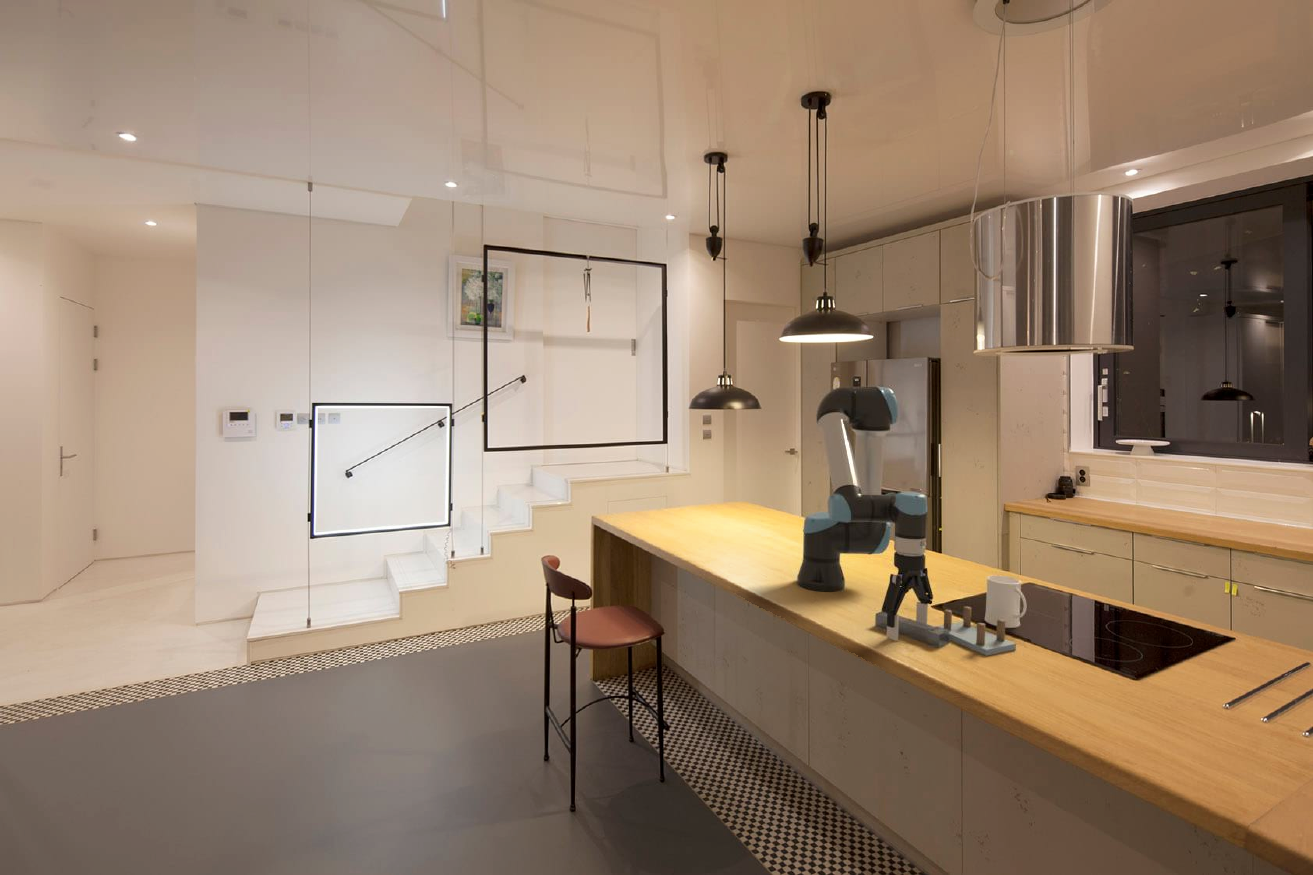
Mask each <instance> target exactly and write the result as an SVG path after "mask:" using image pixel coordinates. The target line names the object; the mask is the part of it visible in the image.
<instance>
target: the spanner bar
mask: <svg viewBox="0 0 1313 875" xmlns="http://www.w3.org/2000/svg"><path fill="white" fill-rule="evenodd" d="M874 619H875V621H874V622H875V623H874V624H875V627H878V628H879V629H882V630H883V629H884V630H886V631H887V613H884V612H882V610H881V611H879V612H877V613H875V618H874ZM898 635H901V636H904V637H907V638H910V639H914V640H917V641H919V642H922V643H925V644H927V645H929V646H931V647H933V648H937V649H940V648H942V647H945V646H947V645H948V644H949V643H950V640H949V630H948V629H945V628H941V627H935V625H930V624H928V623H927V624H924V623H921V622H918V621H916V619H915V620H914V619H911V618H908V617H904V616H901V615H899V624H898Z"/></svg>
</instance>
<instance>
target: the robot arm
mask: <svg viewBox="0 0 1313 875" xmlns="http://www.w3.org/2000/svg"><path fill="white" fill-rule="evenodd" d="M815 416H816V425H817V426H816V427H817V428H818V431H820V432H821V433H822V438H823V443H824V448H825V449H824V450H825V455H826V460H827V464H828V470H829V474H830V480H831V485H832V490H833V494H832V493H831V494H830V495H829V496H828V501H827V511H824V512H815V513H812V514H809V515H807V516H806V517H805V519H804V521H803V529H802V532H803V544H802V546H803V549H802V551H803V552H802V561H801V562H802V563H801V565H800V568H799V571H798V574H797V576H796V583H797V585H798V586H800V587H801V588H805V589H807V590H812V591H817V592H819V591H820V592H837V591H840V590H843V589H844V588H845V587H846V580H845V576H844V573H843V569H842V566H841V554H845V555H846V554H847V555H848V554H850V555H851V554H852V555H854V554H855V555H857V554H861V555H869V556H871V555H879V554H880V555H881V554H882V553H884V552H885V551H886V550H887V549H888V548H889V545H890V541H891V535H892V530H891V523H892V524H893V523H894V543H893V544H894V545H893V548H894V549H893V550H895V551H894V555H893V566H894V567H895V568H896V569H897V574H893V573H890V574H889V582H888V586H887V589H886V593H885V596H884V600H883V603H882V607H881V611H882V612H884V613H887V630H886V638H887V639H889V640H893V641H899V634H898V624H899V616H900V615H899V614H898V612H899V609H900V607H901V605H902V602H903V601H904V598H905V596H906V594H908V593H909V592H910V590H913V592H914V594H915V596H916V598H917V600H918V601H916V607H915V608H916V614H915V615H916V616H915V621H918V622H921V623H924V624H928V613H929V612H928V609H929V608H928V606H929V605H932V604H933V599H934V595H933V591H932V590H933V589H932V587H931V583H930V579H929V575H928V568H927V567H926V555H925V553H926V547H927V542H926V541H927V540H926V539H927V523H928V522H927V520H928V518H927V517H928V510H929V508H928V497H927V496H926V495H925V494H924V493H920V492H914V491H913V492H912V491H901V492H898V493H895V492H889V493H885V494H882V486H883V485H882V484H883V481H882V480H883V467H884V466H883V465H884V452H885V448H884V447H885V436H886V435H887V434H888V433H889V432H890V431H891V425H892V426H893V425H894V424H896V423H897V420H898V418H899V406H898V400H897V397H896V395H895V392H894V391H893V390H892V389H891V388H889V387H883V386H878V385H876V386H840V387H836V388H834V389H832V390H830V391H829V392H828V393H827V394H825V395H824V396H823V399H821V401H820V403H819V405H818V408H817V410H816V415H815ZM849 425H851V426H850V427H851V431H853V432H854V433H855V448H854V449H855V450H854V451H853V446H852V443H851V437H850V434H849V429H848V427H849Z"/></svg>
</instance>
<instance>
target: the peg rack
mask: <svg viewBox="0 0 1313 875" xmlns="http://www.w3.org/2000/svg"><path fill="white" fill-rule="evenodd" d="M952 615H953V611H952V610H950V609H944V612H943V624H941V625H936V626H935V625H934V627H941V628H945V629H948V630H949V641H951V642H953V643H955V644H956V643H957V644H958V645H961V646H962V647H966V648H968V649H970V650H972V651H974V652H976V653H979V654H981V655H983V656H985V657H987V656H991V655H996V654H1002V653H1006V652H1007V653H1008V652H1011V651H1015V650H1017V643H1015V642H1013V641H1011V640H1008V639H1006V638H1005V637H1006V628H1005V620H1002V619H997V626H996V635H995V634H993V633H992V632H988V631H986V623H983V622H977V623H976V626H975V625H972V624H971V623H972V607H971V606H963V613H962V615H963V617H962V621H957V622H953V623H952V621H953V620H952V618H953V616H952Z"/></svg>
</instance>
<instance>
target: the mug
mask: <svg viewBox="0 0 1313 875" xmlns="http://www.w3.org/2000/svg"><path fill="white" fill-rule="evenodd" d="M1021 590H1022V582H1021V580H1020V579H1017V578H1015V577H1011V576H1006V575H1000V574H999V575H998V574H993V575H988V576H987V579H986V596H985V597H986V598H985V599H986V601H985V615H984V621H985V622H986V623H988V624H990V625H992V626H995V627H997V619H1002V620H1005V629H1006V628H1008V629H1014V628H1019V627H1020V626H1021V622H1020V619H1021V618H1022V617H1023V616H1025V614H1026V612H1027V605H1028V604H1027V599H1026V598H1025V595H1024V593H1023V592H1022V591H1021ZM1021 600H1022V604H1023V609H1022V612H1021V613H1020V611H1021Z"/></svg>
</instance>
